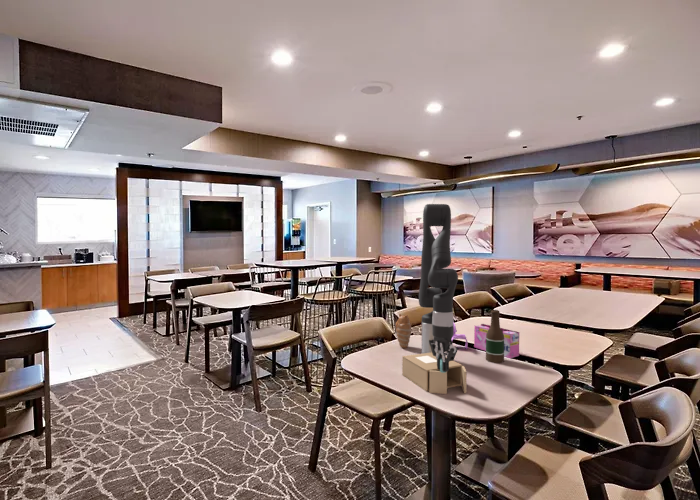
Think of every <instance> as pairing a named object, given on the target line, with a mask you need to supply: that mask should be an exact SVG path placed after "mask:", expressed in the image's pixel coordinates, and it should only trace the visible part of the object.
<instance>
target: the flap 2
mask: <svg viewBox="0 0 700 500" xmlns="http://www.w3.org/2000/svg"><path fill="white" fill-rule="evenodd" d="M461 389H462V391H463V393H464V394H467V369H466V367H465V365H462V386H461Z"/></svg>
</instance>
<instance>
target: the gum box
mask: <svg viewBox="0 0 700 500" xmlns="http://www.w3.org/2000/svg"><path fill="white" fill-rule="evenodd" d="M490 325H491V324H485V323H481V324H480V325H474V340H473V341H474V342H473V344H474V345H473V347H474V348H476V349H478V350H482V351H485V352H486V334H487V331H488V330H489V328H490ZM500 329H501V330H502V332H503V334H504V358H506V359H507V358H508V359H513V358H516V357H519V356H520V333H521V332H519V331H516V330H512V329H507V328H503V327H500Z"/></svg>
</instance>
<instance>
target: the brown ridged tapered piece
mask: <svg viewBox="0 0 700 500" xmlns="http://www.w3.org/2000/svg"><path fill="white" fill-rule="evenodd" d="M398 317H399V318H398V319H397V321H396V322H395V332H396V337H397V342H398V345H399V347H400V348H401V347H402V349H408V347H409V343H410V340H411V334H412V324H411V323H410V321H411V320H410V318H409V316H408V314H406V315H402V314H401V313H399V315H398Z"/></svg>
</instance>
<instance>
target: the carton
mask: <svg viewBox="0 0 700 500" xmlns="http://www.w3.org/2000/svg"><path fill="white" fill-rule="evenodd" d="M446 358H447V356H446ZM401 361H402V362H401V363H402V364H401V365H402V367H401V369H402V374H401V376H403V378H406V379H407V380H408V381H411V383H413V384H415V385H416V386H417V387H419V388H420V389H422V390H424V392H426V393H427V392H429V378H430V370H431V371H440V370H439V369H437V359H436V356H433V354H432V352H431V353H423V354H422V353H418V354H409V355H402V360H401ZM462 366H463V365H462V364H461V363H459V362H456V361H455V360H453V361H449V370H448V371H447V389H450V388H454V387H462Z"/></svg>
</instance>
